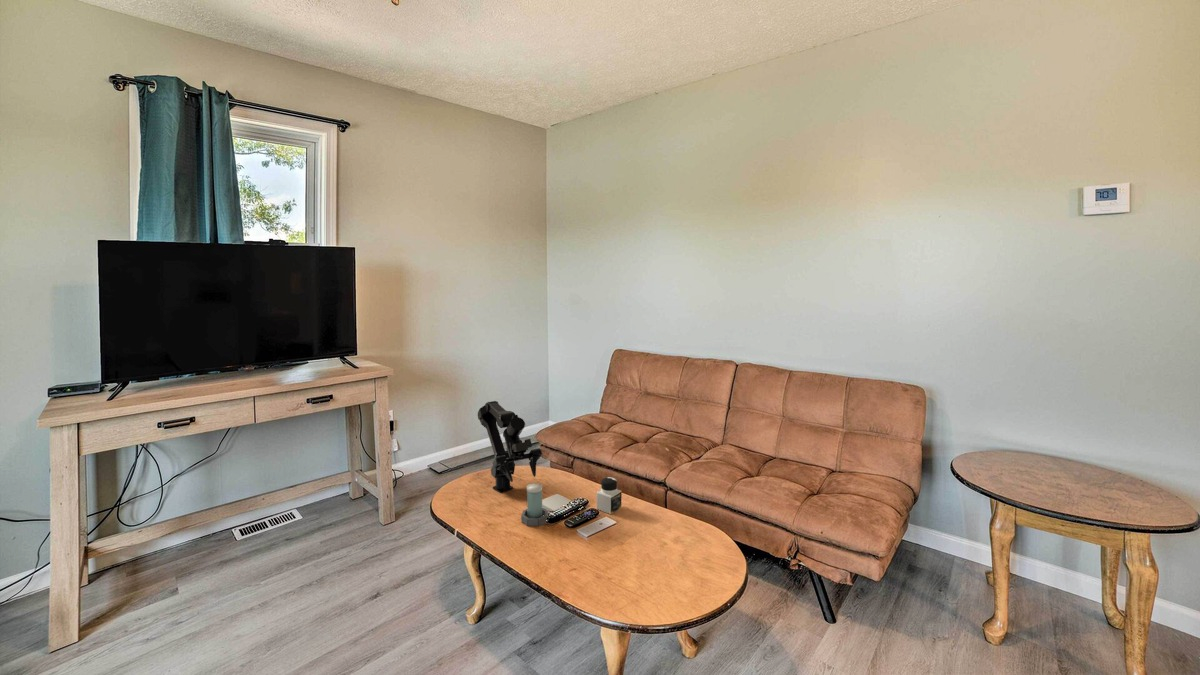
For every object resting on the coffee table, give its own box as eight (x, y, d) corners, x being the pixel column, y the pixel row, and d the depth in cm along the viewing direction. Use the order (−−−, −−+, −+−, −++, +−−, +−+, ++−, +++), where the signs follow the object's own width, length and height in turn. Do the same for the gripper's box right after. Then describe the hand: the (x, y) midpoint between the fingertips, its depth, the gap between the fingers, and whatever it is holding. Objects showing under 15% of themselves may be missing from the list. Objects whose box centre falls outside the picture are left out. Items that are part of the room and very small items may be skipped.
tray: (537, 504, 193) (537, 501, 193) (557, 496, 200) (557, 493, 200) (563, 518, 182) (563, 515, 182) (583, 510, 189) (583, 507, 189)
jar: (524, 519, 182) (523, 486, 180) (536, 514, 186) (536, 481, 184) (533, 525, 178) (532, 491, 176) (545, 519, 181) (545, 486, 180)
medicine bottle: (611, 514, 185) (611, 484, 184) (596, 509, 189) (596, 480, 188) (621, 507, 191) (622, 478, 189) (607, 502, 195) (607, 474, 194)
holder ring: (517, 519, 182) (516, 512, 181) (537, 510, 188) (537, 504, 188) (532, 528, 175) (532, 522, 175) (553, 519, 181) (552, 513, 181)
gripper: (494, 436, 183) (505, 476, 175) (540, 428, 192) (552, 465, 185) (488, 449, 191) (498, 487, 183) (532, 441, 200) (543, 477, 193)
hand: (523, 479), depth 186 cm, fingers open, 9 cm apart
